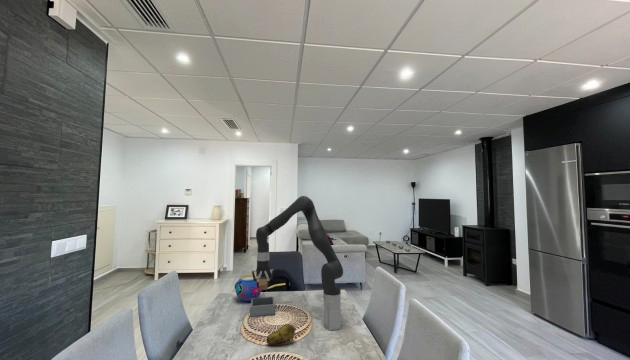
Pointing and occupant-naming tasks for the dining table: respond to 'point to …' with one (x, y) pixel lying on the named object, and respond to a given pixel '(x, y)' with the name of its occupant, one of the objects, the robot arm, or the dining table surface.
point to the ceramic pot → (247, 288)
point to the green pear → (281, 334)
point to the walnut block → (262, 283)
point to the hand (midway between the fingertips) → (263, 287)
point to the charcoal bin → (262, 306)
